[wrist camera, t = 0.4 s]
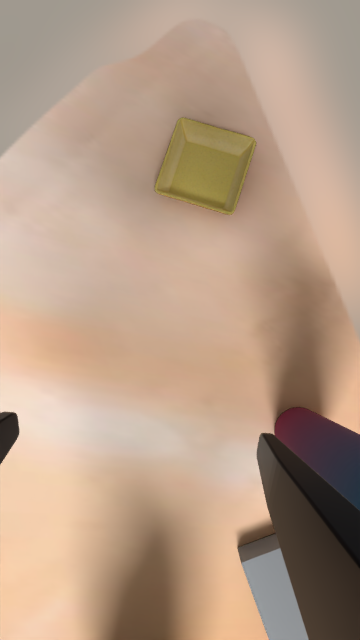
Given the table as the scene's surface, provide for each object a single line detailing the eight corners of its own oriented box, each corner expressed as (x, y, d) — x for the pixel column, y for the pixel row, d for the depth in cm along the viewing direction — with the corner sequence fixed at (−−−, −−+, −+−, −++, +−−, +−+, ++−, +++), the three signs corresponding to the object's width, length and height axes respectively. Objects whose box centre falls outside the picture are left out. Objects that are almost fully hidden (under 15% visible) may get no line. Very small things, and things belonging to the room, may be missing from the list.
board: (466, 694, 22) (487, 720, 21) (312, 754, 22) (321, 785, 20) (384, 491, 23) (398, 502, 22) (237, 547, 23) (241, 562, 21)
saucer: (155, 202, 25) (152, 190, 23) (179, 132, 26) (178, 114, 24) (228, 225, 25) (233, 215, 23) (252, 154, 26) (258, 138, 24)
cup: (324, 393, 24) (567, 496, 9) (337, 459, 23) (615, 687, 8) (260, 404, 24) (393, 526, 9) (272, 470, 23) (433, 717, 8)
